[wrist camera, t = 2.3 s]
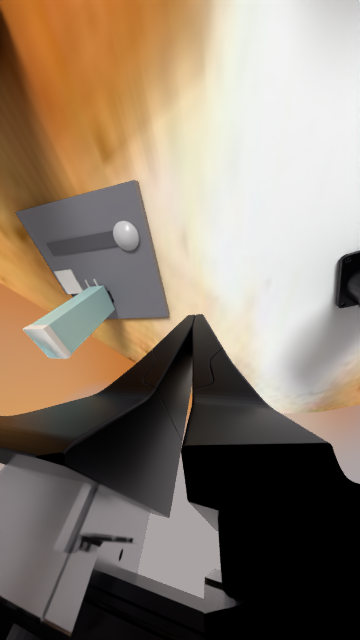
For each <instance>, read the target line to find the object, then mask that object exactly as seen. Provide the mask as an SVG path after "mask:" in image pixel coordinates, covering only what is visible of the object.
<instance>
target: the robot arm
mask: <svg viewBox="0 0 360 640" xmlns="http://www.w3.org/2000/svg"><path fill="white" fill-rule="evenodd" d="M347 258H349V259H348V260H347V261H346V262H345V260H346V259H347ZM342 303H343V304H342ZM341 304H342V305H341ZM336 305H337V306H338V307H339V308H345V307H350V306H355V305H358V306H359V307H360V251H356V252H353V253H350V254H346V255H344V256H343V257H341V259H340V262H339V275H338V287H337V299H336ZM152 350H153V351H152ZM152 350H151V351H150V352H149V353H148V354H147V355H146V356H144V357H143V358H142V359H141V360H140V361H139V362H138V363H136V364H135V365H134V366H133V367H132V368H130V369H129V370H128V371H127V372H126V373H124V374H123V375H122V376H120V377H119V378H118V379H117V380H115V381H114V382H113V383H112V384H110V385H109V386H108V387H106V388H105V389H104V390H102V391H100V392H99V393H97V394H94V395H92V396H89V397H85V398H82V399H78V400H74V401H70V402H67V403H63V404H59V405H55V406H52V407H48V408H44V409H40V410H37V411H33V412H29V413H25V414H19V415H14V416H0V463H2V464H5V466H4V467H3V468H2V470H1V471H0V640H360V484H358V483H354V482H352V481H351V480H349V479H348V478H347V477H346V476H345V475H344V473H343V471H342V470H341V468H340V466H339V464H338V461H337V459H336V456H335V453H334V451H333V447H332V445H331V444H330V443H328V442H327V441H324V440H323V439H322V438H320V437H318V436H317V435H315V434H313V433H312V432H310V431H308V430H307V429H305V428H303V427H302V426H300V425H299V424H297V423H295V422H294V421H292V420H290V419H289V418H287V417H285V416H284V415H282V414H281V413H279V412H277V411H276V410H274V409H273V408H272V407H270V406H269V405H268V404H267V403H266V402H265V401H264V400H263V399H262V398H261V397H260V396H259V395H258V393H257V392H256V391H255V390H254V389H253V387H252V386H251V385H250V384H249V383H248V381H247V380H246V379H245V378H244V376H243V375H242V374H241V373H240V372H239V370H238V369H237V368H236V367H235V365H234V364H233V363H232V361H231V360H230V358H229V357H228V355H227V354H226V352H225V350H224V349H223V347H222V345H221V344H220V342H219V340H218V339H217V337H216V335H215V334H214V332H213V330H212V329H211V327H210V325H209V324H208V322H207V320H206V319H205V317H204V315H203V314H198V315H196V316H195V315H188V316H187V317H186V318H185V319H184V320H183V321H181V322H180V323H179V324H178V325H177V326H176V327H175V328H174V329H173V330H172V331H171V332H170V333H169V334H168V335H167V336H166V337H165V338H164V339H163V340H161V341H160V342H159V343H158V344H157V345H156V346H155V347H154V348H153V349H152ZM191 386H192V391H193V393H192V397H193V398H192V407H191V412H190V415H189V419H188V423H187V428H186V432H185V436H184V440H183V434H184V428H185V421H186V415H187V410H188V404H189V398H190V392H191ZM182 440H183V444H182ZM181 446H182V448H181ZM180 452H181V455H182V462H183V469H184V476H185V484H186V492H187V499H188V501H189V503H190V504H191V505H192V506H193V507H194V508H195V509H196V510H197V511H198V512H199V513H200V514H201V515H202V516H203V517H204V518H205V519H206V520H207V521H208V523H210V525H211V526H212V527H213V528H214V529H215V530H217V531H219V547H220V563H221V571H220V570H216V569H214V570H212V571H211V572H210V573H209V574H208V575H207V576H206V577H205V587H204V599H203V598H200V597H197V596H195V595H192V594H189V593H187V592H184V591H181V590H179V589H176V588H174V587H171V586H168V585H166V584H163V583H160V582H158V581H155V580H152V579H150V578H147V577H145V576H142V575H139V574H137V573H138V568H139V564H140V559H141V554H142V549H143V544H144V539H145V534H146V529H147V525H148V520H149V515H150V513H152V514H156V515H160V516H164V517H167V518H169V517H170V511H171V506H172V500H173V494H174V488H175V482H176V476H177V470H178V464H179V458H180Z"/></svg>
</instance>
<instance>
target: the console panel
mask: <svg viewBox="0 0 360 640" xmlns="http://www.w3.org/2000/svg"><path fill="white" fill-rule="evenodd" d="M15 213H16V215H17V216H18V218H19V219H20V221H21V223H22V224H23V226H24V227H25V229H26V231H27V232H28V234H29V235H30V237H31V239H32V240H33V242H34V243H35V245H36V247H37V248H38V250H39V251H40V253H41V255H42V256H43V258H44V259H45V261H46V263H47V264H48V266H49V267H50V269H51V271H52V272H53V274H54V275H55V277H56V279H57V280H58V282H59V283H60V285H61V287H62V288H63V290H64V291H65V293H66V294H71V295H72V296H73V297H74V296H76V295H78V294H79V293H81V292H82V291H84V290H85V289H87V288H88V287H93V286H103V285H104V286H105V289H106V291H107V292H108V291H109V292H110V294H111V296H112V299H113V300H112V301H111V302H112V304H113V306H114V308H115V310H114V311H113V312H112V313H111V314H110V315H109V316H108V317H107V318H106V319H123V318H151V317H168V316H169V309H168V305H167V301H166V297H165V293H164V288H163V284H162V280H161V276H160V271H159V267H158V263H157V259H156V255H155V250H154V246H153V242H152V238H151V234H150V229H149V225H148V221H147V217H146V213H145V208H144V204H143V200H142V196H141V192H140V187H139V183H138V181H135V180H133V181H129V182H125V183H121V184H118V185H114V186H110V187H107V188H103V189H99V190H96V191H92V192H88V193H84V194H81V195H77V196H73V197H70V198H66V199H62V200H58V201H55V202H51V203H47V204H44V205H40V206H36V207H32V208H29V209H25V210H21V211H18V212H15Z"/></svg>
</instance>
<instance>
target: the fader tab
mask: <svg viewBox="0 0 360 640" xmlns="http://www.w3.org/2000/svg"><path fill="white" fill-rule="evenodd" d="M112 300H113V299H112V296H111V294H110V292H109V291H108V292H107V291H106V289H105V286H104V285H103V286H93V287H88V288H87V289H85V290H84V291H82V292H81V293H79V294H78V295H76V296H74V297H73V298H71V299H70V300H68V301H67V302H65V303H64V304H62V305H60V306H59V307H57V308H56V309H54V310H53V311H51V312H50V313H48V314H47V315H45V316H43V317H42V318H40V319H39V320H37V321H36V322H34V323H33V324H31V325H28V326H27V327H25V328H23V330H24V331H25V332H26V334H27V335H28V336H29V337H30V338H31V339H32V340H33V341H34V342H35V343H36V344H37V345H38V347H39V348H40V349H42V351H43V352H44V353H45V354H46V355H47V356H48V357H49V358H60V359H68V358H69V357H70V356H71V355H72V353H73V352H74V351H75V350H76V349H77V348H78V347H79V346H80V345H81V344H82V343H83V342H84V341H85V340H86V338H88V337H89V336H90V334H91V333H92V332H93V331H94V330H95V329H96V328H97V327H98V326H99V325H100V324H101V323H102V322H103V321H104V320H105V319H106V318H107V317H108V316H109V315H110V314H111V313H112V312H113V311H114V310H115V308H114V306H113V304H112V302H111V301H112Z"/></svg>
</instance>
